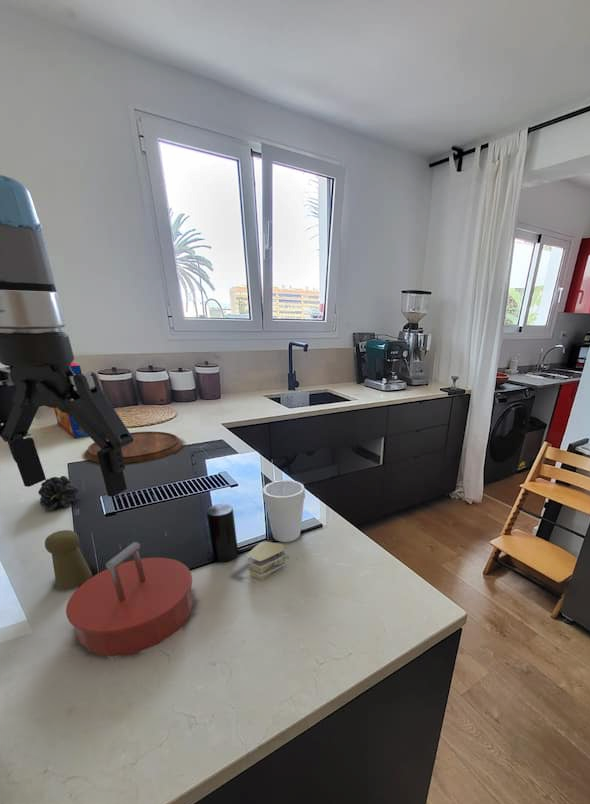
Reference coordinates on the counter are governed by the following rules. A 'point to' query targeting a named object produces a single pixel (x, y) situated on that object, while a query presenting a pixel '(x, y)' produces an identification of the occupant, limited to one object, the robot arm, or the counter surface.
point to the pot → (138, 633)
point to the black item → (222, 532)
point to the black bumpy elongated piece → (57, 493)
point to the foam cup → (284, 508)
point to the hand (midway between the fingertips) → (76, 487)
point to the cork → (67, 559)
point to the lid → (128, 593)
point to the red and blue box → (65, 419)
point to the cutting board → (143, 447)
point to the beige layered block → (265, 559)
